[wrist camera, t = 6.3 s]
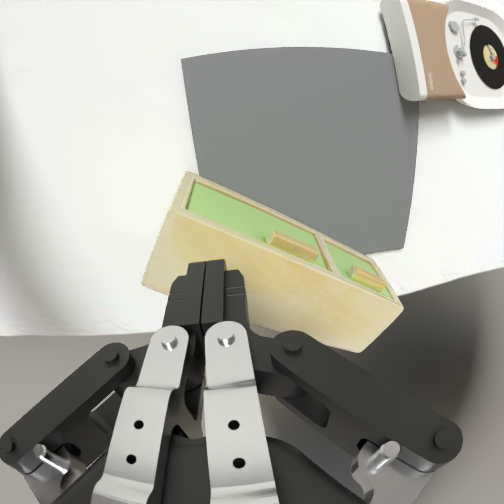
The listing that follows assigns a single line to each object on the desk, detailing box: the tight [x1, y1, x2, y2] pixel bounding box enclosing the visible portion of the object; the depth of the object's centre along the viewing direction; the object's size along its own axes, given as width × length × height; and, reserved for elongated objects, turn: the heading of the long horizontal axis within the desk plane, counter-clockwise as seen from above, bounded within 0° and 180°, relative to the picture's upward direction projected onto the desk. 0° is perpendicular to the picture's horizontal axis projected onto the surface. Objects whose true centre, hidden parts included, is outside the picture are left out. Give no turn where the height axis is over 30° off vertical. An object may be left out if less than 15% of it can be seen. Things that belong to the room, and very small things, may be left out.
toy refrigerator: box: [141, 172, 403, 353], centre depth 24 cm, size 8×7×21 cm
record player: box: [380, 0, 504, 109], centre depth 16 cm, size 12×3×20 cm
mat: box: [181, 47, 419, 254], centre depth 24 cm, size 20×20×1 cm
